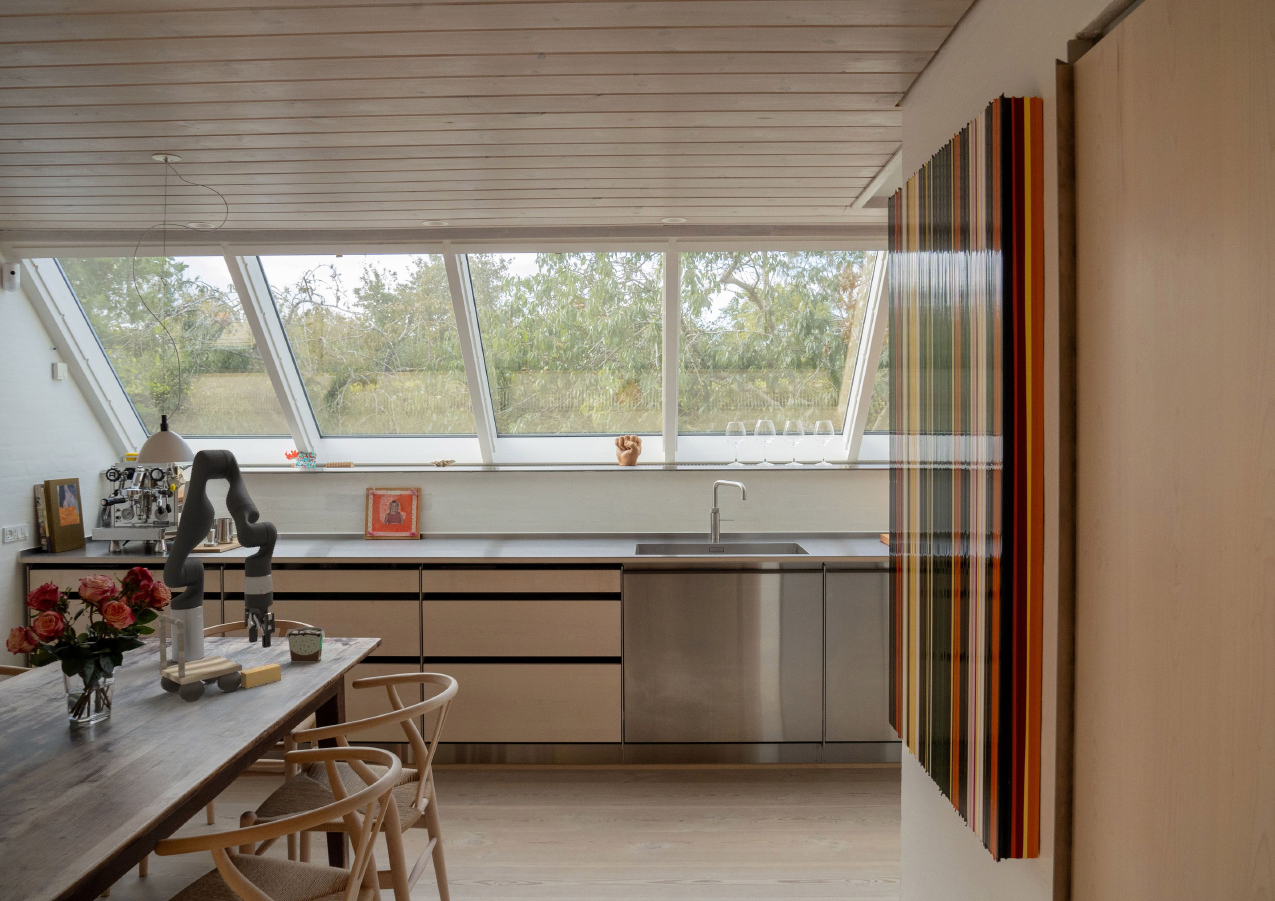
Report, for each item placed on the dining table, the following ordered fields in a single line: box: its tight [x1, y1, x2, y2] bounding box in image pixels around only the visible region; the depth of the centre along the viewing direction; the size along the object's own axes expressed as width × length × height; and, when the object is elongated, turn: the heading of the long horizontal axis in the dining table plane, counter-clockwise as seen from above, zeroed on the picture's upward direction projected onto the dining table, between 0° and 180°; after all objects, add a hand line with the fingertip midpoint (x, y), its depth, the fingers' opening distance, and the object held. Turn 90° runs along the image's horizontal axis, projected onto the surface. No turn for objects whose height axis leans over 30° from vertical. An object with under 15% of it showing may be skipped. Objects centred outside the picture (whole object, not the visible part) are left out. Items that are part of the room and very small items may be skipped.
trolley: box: [158, 613, 243, 703], centre depth 222 cm, size 16×16×23 cm
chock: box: [239, 663, 282, 689], centre depth 229 cm, size 4×10×4 cm, turn 140°
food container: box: [285, 626, 326, 663], centre depth 252 cm, size 12×6×10 cm, turn 84°
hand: (259, 644), depth 229 cm, fingers open, 8 cm apart
